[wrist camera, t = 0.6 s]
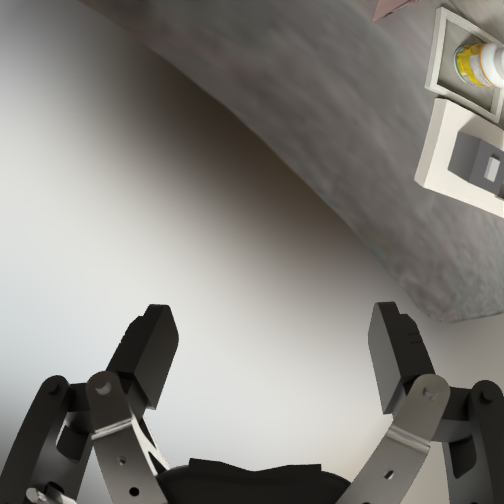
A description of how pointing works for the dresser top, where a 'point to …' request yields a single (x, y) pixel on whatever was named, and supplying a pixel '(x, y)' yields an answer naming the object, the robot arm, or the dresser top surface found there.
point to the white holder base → (463, 157)
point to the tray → (436, 60)
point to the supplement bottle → (480, 64)
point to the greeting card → (389, 7)
